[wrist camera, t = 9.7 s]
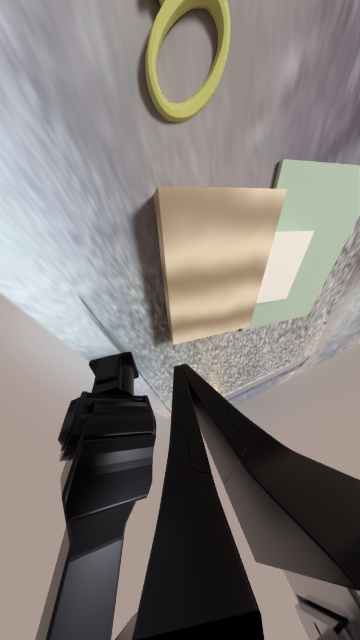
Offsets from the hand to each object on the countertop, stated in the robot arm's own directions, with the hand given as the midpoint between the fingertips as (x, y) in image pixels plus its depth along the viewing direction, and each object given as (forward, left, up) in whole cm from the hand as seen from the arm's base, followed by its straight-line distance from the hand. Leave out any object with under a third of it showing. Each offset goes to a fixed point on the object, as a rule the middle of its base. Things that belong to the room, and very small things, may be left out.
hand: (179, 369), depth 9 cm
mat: (+2, -26, -13) cm, 29 cm away
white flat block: (+2, -19, -12) cm, 23 cm away
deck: (+2, -9, -13) cm, 16 cm away
